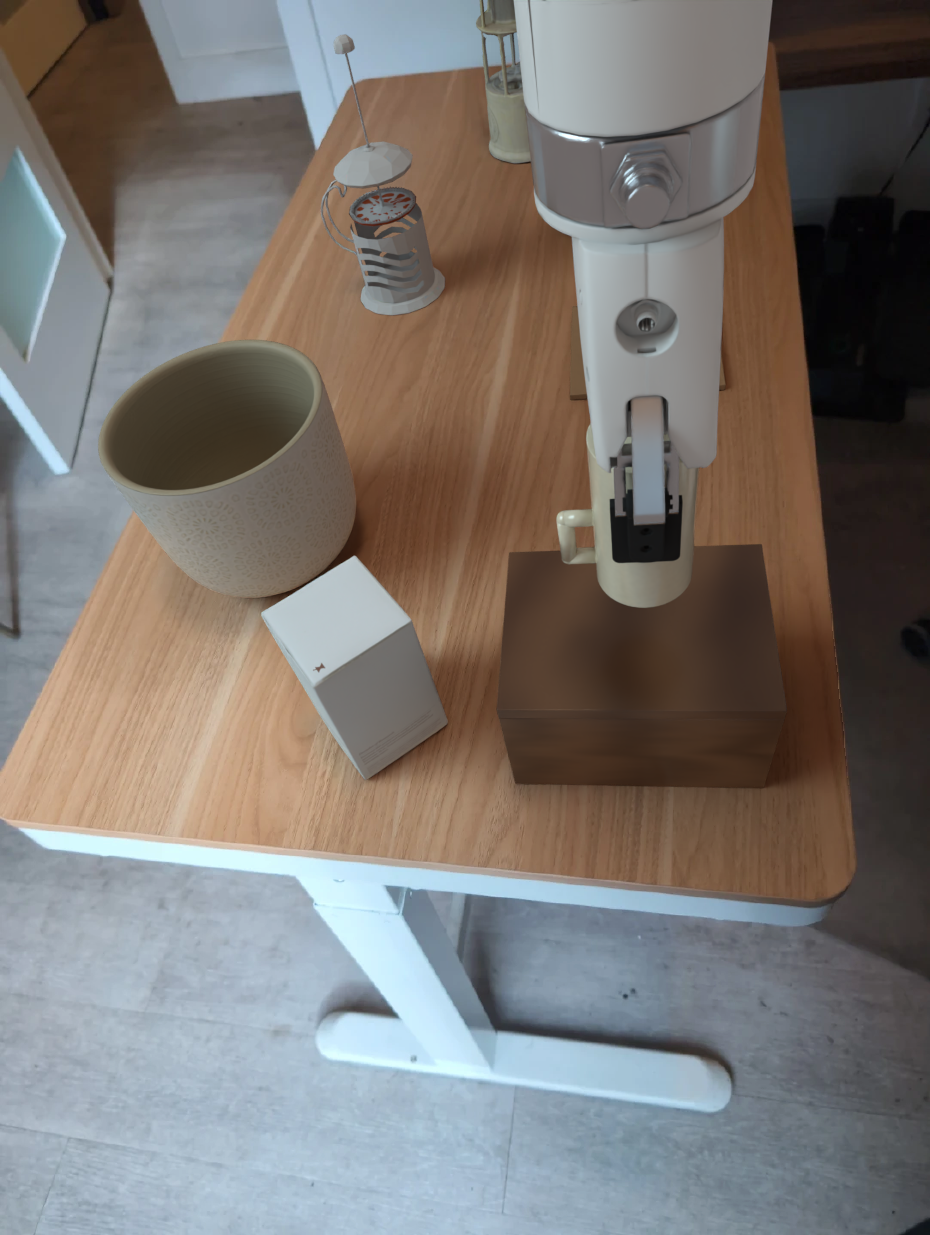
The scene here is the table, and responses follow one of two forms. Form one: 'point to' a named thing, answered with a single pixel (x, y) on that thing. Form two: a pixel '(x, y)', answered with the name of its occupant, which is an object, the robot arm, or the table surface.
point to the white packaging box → (359, 665)
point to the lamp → (504, 87)
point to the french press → (400, 272)
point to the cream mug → (617, 580)
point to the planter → (235, 466)
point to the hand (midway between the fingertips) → (643, 509)
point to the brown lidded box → (640, 676)
